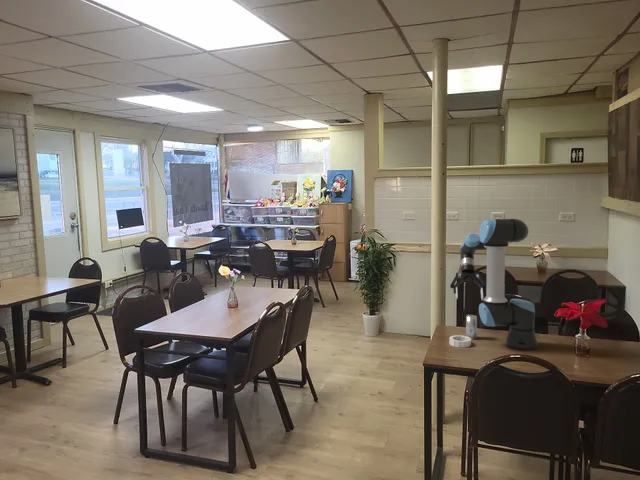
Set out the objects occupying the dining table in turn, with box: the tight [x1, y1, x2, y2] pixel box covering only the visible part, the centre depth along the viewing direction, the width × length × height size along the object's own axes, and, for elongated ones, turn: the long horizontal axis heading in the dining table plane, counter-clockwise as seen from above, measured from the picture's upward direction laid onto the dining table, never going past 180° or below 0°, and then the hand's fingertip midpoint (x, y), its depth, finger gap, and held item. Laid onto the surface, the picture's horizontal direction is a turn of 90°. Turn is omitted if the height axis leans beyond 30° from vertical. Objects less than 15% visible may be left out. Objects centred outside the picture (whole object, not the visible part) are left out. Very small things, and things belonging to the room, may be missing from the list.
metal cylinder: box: [465, 314, 478, 341], centre depth 259 cm, size 6×6×12 cm
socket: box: [449, 334, 472, 348], centre depth 250 cm, size 10×10×3 cm
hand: (469, 298), depth 268 cm, fingers open, 13 cm apart
